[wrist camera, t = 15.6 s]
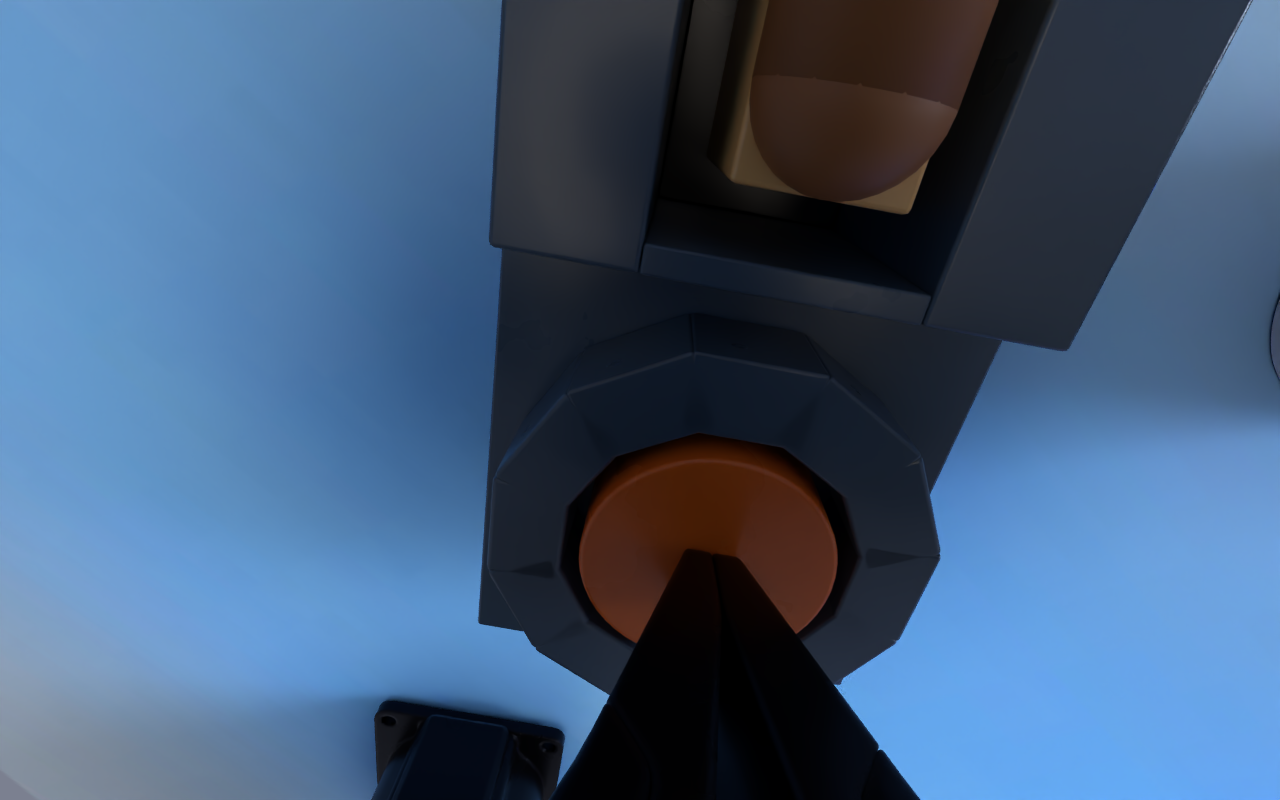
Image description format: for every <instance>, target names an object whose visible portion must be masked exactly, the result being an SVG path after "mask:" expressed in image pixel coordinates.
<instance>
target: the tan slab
mask: <svg viewBox="0 0 1280 800" xmlns="http://www.w3.org/2000/svg"><path fill="white" fill-rule="evenodd" d="M998 2H999V0H738V3H737V7H736V12H735V17H734V22H733V27H732V32H731V37H730V42H729V47H728V52H727V57H726V61H725V66H724V71H723V76H722V81H721V86H720V91H719V96H718V101H717V106H716V111H715V115H714V120H713V125H712V130H711V135H710V140H709V145H708V150H707V158H708V159H709V160H710V161H711V162H712V163H713V164H714V165H715V166H716V167H717V168H718V169H719V170H721V171H722V172H723V173H724V174H725V175H726V176H727V177H728V178H729V179H730V180H731V181H732V182H734V183H736V184H741V185H747V186H752V187H757V188H763V189H768V190H773V191H779V192H784V193H789V194H795V195H800V196H805V197H810V198H816V199H819V200H826V201H832V202H837V203H842V204H848V205H853V206H858V207H864V208H869V209H874V210H880V211H885V212H890V213H896V214H901V215H903V214H908V213H909V211H910V210H911V208H912V205H913V203H914V200H915V197H916V194H917V192H918V189H919V186H920V183H921V180H922V178H923V175H924V172H925V169H926V167H927V164H928V161H929V158H930V157H931V156H932V155H933V154H934V153H935V151H936V150H937V148H938V147H939V146H940V144H941V143H942V141H943V140H944V138H945V137H946V136H947V134H948V132H949V130H950V128H951V125H952V123H953V121H954V119H955V117H956V115H957V113H958V110H959V107H960V105H961V102H962V99H963V97H964V94H965V91H966V88H967V86H968V83H969V80H970V78H971V75H972V72H973V69H974V67H975V64H976V61H977V59H978V56H979V53H980V50H981V48H982V45H983V42H984V40H985V37H986V34H987V32H988V29H989V26H990V23H991V21H992V18H993V15H994V13H995V10H996V7H997V4H998Z"/></svg>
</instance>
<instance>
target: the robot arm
mask: <svg viewBox="0 0 1280 800" xmlns="http://www.w3.org/2000/svg"><path fill="white" fill-rule="evenodd" d="M374 722H375V743H376V763H377V784H378V786H377V788H376V790H375V792H374V794H373V797H372V799H371V800H920V798H919V797H918V796H917V795H916V793H915V792H914V791H913V789H912V788H911V787H910V786H909V784H908V783H907V782H906V780H905V779H904V778H903V777H902V775H901V774H900V773H899V771H898V770H897V769H896V767H895V766H894V764H893V763H892V762H891V760H890V759H889V758H888V756H887V755H886V754H885V752H884V751H883V750H878V748H879V746H878V743H877V742H876V741H875V739H874V738H873V737H872V735H871V734H870V733H869V731H868V730H867V729H866V727H865V726H864V725H863V723H862V722H861V720H860V719H859V718H858V716H857V715H856V714H855V712H854V711H853V710H852V708H851V707H850V706H849V704H848V703H847V702H846V700H845V699H844V698H843V696H842V695H841V694H840V692H839V691H838V690H837V688H836V687H835V686H834V684H833V683H832V681H831V680H830V679H829V677H828V676H827V675H826V673H825V672H824V671H823V669H822V668H821V667H820V665H819V664H818V663H817V661H816V660H815V659H814V657H813V656H812V655H811V653H810V652H809V651H808V649H807V648H806V647H805V645H804V644H803V643H802V641H801V640H800V638H799V637H798V636H797V634H796V633H795V632H794V630H793V629H792V628H791V626H790V625H789V624H788V622H787V621H786V620H785V618H784V617H783V616H782V614H781V613H780V612H779V610H778V609H777V608H776V606H775V605H774V604H773V602H772V601H771V599H770V598H769V597H768V595H767V594H766V593H765V591H764V590H763V589H762V587H761V586H760V585H759V583H758V582H757V581H756V579H755V578H754V577H753V575H752V574H751V573H750V571H749V570H748V569H747V567H746V566H745V565H744V563H743V562H742V561H741V560H740V559H739V558H738V557H735V556H729V555H723V554H714V555H711V554H710V553H709V552H706V551H700V550H695V549H686V550H685V551H684V553H683V555H682V557H681V559H680V560H679V562H678V564H677V566H676V568H675V570H674V572H673V574H672V576H671V578H670V580H669V582H668V584H667V586H666V588H665V590H664V591H663V593H662V595H661V597H660V599H659V601H658V603H657V605H656V607H655V609H654V611H653V613H652V615H651V617H650V619H649V621H648V622H647V624H646V626H645V628H644V630H643V632H642V634H641V636H640V638H639V640H638V642H637V644H636V646H635V648H634V650H633V652H632V653H631V655H630V657H629V659H628V661H627V663H626V665H625V667H624V669H623V671H622V673H621V675H620V677H619V679H618V681H617V683H616V684H615V686H614V688H613V690H612V692H611V694H610V696H609V698H608V700H607V703H606V704H605V705H604V707H603V709H602V711H601V713H600V715H599V717H598V719H597V720H596V722H595V724H594V726H593V728H592V730H591V732H590V733H589V735H588V737H587V739H586V741H585V742H584V744H583V746H582V748H581V749H580V751H579V753H578V755H577V756H576V758H575V760H574V762H573V763H572V765H571V766H570V768H569V769H568V771H567V772H566V774H565V775H564V777H563V778H562V780H561V781H560V783H559V784H558V786H557V781H558V775H559V770H560V764H561V758H562V753H563V747H564V741H565V736H564V734H563V732H562V731H560V730H559V729H556V728H553V727H548V726H542V725H536V724H530V723H524V722H518V721H512V720H506V719H500V718H494V717H488V716H482V715H476V714H470V713H464V712H458V711H452V710H446V709H440V708H434V707H428V706H422V705H416V704H410V703H404V702H398V701H385V702H383V703H382V704H381V705H380V707H379V709H378V711H377V713H376V715H375V718H374Z"/></svg>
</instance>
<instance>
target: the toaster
mask: <svg viewBox="0 0 1280 800" xmlns="http://www.w3.org/2000/svg"><path fill="white" fill-rule="evenodd" d="M1252 1H1253V0H999V2H998V4H997V7H996V10H995V13H994V15H993V18H992V21H991V23H990V26H989V29H988V32H987V34H986V37H985V40H984V42H983V45H982V48H981V50H980V53H979V56H978V59H977V61H976V64H975V67H974V69H973V72H972V75H971V78H970V80H969V83H968V86H967V88H966V91H965V94H964V97H963V99H962V102H961V105H960V107H959V110H958V113H957V115H956V117H955V119H954V121H953V123H952V125H951V128H950V130H949V132H948V134H947V136H946V137H945V138H944V140H943V141H942V143H941V144H940V146H939V147H938V148H937V150H936V151H935V153H934V154H933V155H932V156H931V157H930V158H929V161H928V164H927V167H926V169H925V172H924V175H923V178H922V180H921V183H920V186H919V189H918V192H917V194H916V197H915V200H914V203H913V205H912V208H911V210H910V211H909V213H908V214H903V215H901V214H896V213H890V212H885V211H880V210H874V209H869V208H864V207H858V206H853V205H848V204H842V203H837V202H832V201H826V200H819V199H816V198H810V197H805V196H800V195H795V194H789V193H784V192H779V191H773V190H768V189H763V188H757V187H752V186H747V185H741V184H736V183H734V182H732V181H731V180H730V179H729V178H728V177H727V176H726V175H725V174H724V173H723V172H722V171H721V170H719V169H718V168H717V167H716V166H715V165H714V164H713V163H712V162H711V161H710V160H709V159H708V158H707V150H708V145H709V140H710V135H711V130H712V125H713V120H714V115H715V111H716V106H717V101H718V96H719V91H720V86H721V81H722V76H723V71H724V66H725V61H726V57H727V52H728V47H729V42H730V37H731V32H732V27H733V22H734V17H735V12H736V7H737V3H738V0H502V5H501V24H500V43H499V61H498V80H497V98H496V117H495V136H494V154H493V173H492V191H491V210H490V229H489V242H490V245H492V246H493V247H496V248H502V249H507V250H513V251H518V252H523V253H529V254H534V255H540V256H545V257H551V258H556V259H562V260H567V261H573V262H578V263H583V264H589V265H594V266H600V267H605V268H611V269H616V270H622V271H627V272H638V270H639V268H640V273H641V274H642V275H646V276H652V277H657V278H663V279H668V280H673V281H679V282H684V283H690V284H695V285H701V286H706V287H712V288H717V289H723V290H728V291H733V292H739V293H744V294H750V295H755V296H761V297H766V298H772V299H777V300H783V301H788V302H793V303H799V304H804V305H810V306H815V307H821V308H826V309H832V310H837V311H843V312H848V313H853V314H859V315H864V316H870V317H875V318H881V319H886V320H892V321H897V322H903V323H908V324H913V325H920V324H922V325H924V326H926V327H932V328H937V329H943V330H948V331H953V332H959V333H964V334H970V335H975V336H981V337H986V338H992V339H997V340H1003V341H1008V342H1013V343H1019V344H1024V345H1030V346H1035V347H1041V348H1046V349H1052V350H1057V351H1067V350H1068V349H1069V347H1070V346H1071V344H1072V342H1073V340H1074V338H1075V336H1076V334H1077V332H1078V330H1079V329H1080V327H1081V325H1082V323H1083V321H1084V319H1085V317H1086V315H1087V313H1088V312H1089V310H1090V308H1091V306H1092V304H1093V302H1094V300H1095V298H1096V296H1097V294H1098V293H1099V291H1100V289H1101V287H1102V285H1103V283H1104V281H1105V279H1106V277H1107V276H1108V274H1109V272H1110V270H1111V268H1112V266H1113V264H1114V262H1115V260H1116V259H1117V257H1118V255H1119V253H1120V251H1121V249H1122V247H1123V245H1124V243H1125V241H1126V240H1127V238H1128V236H1129V234H1130V232H1131V230H1132V228H1133V226H1134V224H1135V223H1136V221H1137V219H1138V217H1139V215H1140V213H1141V211H1142V209H1143V207H1144V205H1145V204H1146V202H1147V200H1148V198H1149V196H1150V194H1151V192H1152V190H1153V188H1154V187H1155V185H1156V183H1157V181H1158V179H1159V177H1160V175H1161V173H1162V171H1163V170H1164V168H1165V166H1166V164H1167V162H1168V160H1169V158H1170V156H1171V154H1172V152H1173V151H1174V149H1175V147H1176V145H1177V143H1178V141H1179V139H1180V137H1181V135H1182V134H1183V132H1184V130H1185V128H1186V126H1187V124H1188V122H1189V120H1190V118H1191V117H1192V115H1193V113H1194V111H1195V109H1196V107H1197V105H1198V103H1199V101H1200V99H1201V98H1202V96H1203V94H1204V92H1205V90H1206V88H1207V86H1208V84H1209V82H1210V81H1211V79H1212V77H1213V75H1214V73H1215V71H1216V69H1217V67H1218V65H1219V63H1220V62H1221V60H1222V58H1223V56H1224V54H1225V52H1226V50H1227V48H1228V46H1229V45H1230V43H1231V41H1232V39H1233V37H1234V35H1235V33H1236V31H1237V29H1238V28H1239V26H1240V24H1241V22H1242V20H1243V18H1244V16H1245V14H1246V12H1247V10H1248V9H1249V7H1250V5H1251V3H1252Z"/></svg>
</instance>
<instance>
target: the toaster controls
mask: <svg viewBox="0 0 1280 800" xmlns="http://www.w3.org/2000/svg"><path fill="white" fill-rule="evenodd" d="M1001 342H1002V340H997V339H992V338H986V337H981V336H975V335H970V334H964V333H959V332H953V331H948V330H943V329H937V328H932V327H926V326H924V325H922V324H920V325H913V324H908V323H903V322H897V321H892V320H886V319H881V318H875V317H870V316H864V315H859V314H853V313H848V312H843V311H837V310H832V309H826V308H821V307H815V306H810V305H804V304H799V303H793V302H788V301H783V300H777V299H772V298H766V297H761V296H755V295H750V294H744V293H739V292H733V291H728V290H723V289H717V288H712V287H706V286H701V285H695V284H690V283H684V282H679V281H673V280H668V279H663V278H657V277H652V276H646V275H642V274H641V273H640V268H639V270H638V272H627V271H622V270H616V269H611V268H605V267H600V266H594V265H589V264H583V263H578V262H573V261H567V260H562V259H556V258H551V257H545V256H540V255H534V254H529V253H523V252H518V251H513V250H507V249H502V257H501V273H500V289H499V304H498V320H497V335H496V351H495V367H494V382H493V398H492V414H491V429H490V445H489V460H488V476H487V492H486V507H485V523H484V539H483V554H482V570H481V586H480V601H479V617H478V622H479V623H480V624H483V625H489V626H495V627H501V628H507V629H513V630H519V631H524V632H525V634H526V636H527V637H528V639H529V641H530V642H531V644H532V645H533V646H534V647H536V650H537V651H538V652H540V653H542V654H543V655H545V656H547V657H548V658H550V659H551V660H553V661H555V662H556V663H558V664H560V665H561V666H563V667H565V668H566V669H568V670H569V671H571V672H573V673H574V674H576V675H578V676H579V677H581V678H583V679H584V680H586V681H587V682H589V683H591V684H592V685H594V686H596V687H597V688H599V689H601V690H602V691H604V692H606V693H607V694H609V695H610V694H611V692H612V690H613V688H614V686H615V684H616V683H617V681H618V679H619V677H620V675H621V673H622V671H623V669H624V667H625V665H626V663H627V661H628V659H629V657H630V655H631V653H632V652H633V650H634V648H635V646H636V643H635V642H633V641H631V640H629V639H628V638H626V637H625V636H623V635H622V634H620V633H619V632H618V631H616V630H615V629H614V628H613V627H612V626H611V625H610V624H608V623H607V622H606V621H605V620H604V618H603V617H602V616H601V615H600V614H599V612H598V611H597V610H596V609H595V607H594V605H593V604H592V602H591V601H590V599H589V597H588V594H587V592H586V590H585V588H584V585H583V582H582V578H581V574H580V568H579V546H580V541H581V537H582V533H583V528H584V524H585V520H586V516H587V511H588V507H589V503H590V498H591V494H592V490H593V486H594V482H595V479H596V478H597V477H598V476H599V474H600V473H601V472H602V471H603V470H604V469H605V468H606V467H607V466H608V465H609V464H610V463H611V462H612V461H613V460H614V459H615V458H616V457H617V456H621V455H624V454H627V453H631V452H634V451H638V450H641V449H644V448H648V447H651V446H655V445H658V444H662V443H665V442H668V441H672V440H675V439H679V438H682V437H685V436H689V435H692V434H696V433H703V434H708V435H714V436H720V437H725V438H731V439H736V440H742V441H748V442H753V443H759V444H764V445H770V446H776V447H781V448H784V449H785V450H786V451H788V452H789V453H790V454H791V455H792V456H794V457H795V458H796V459H797V460H799V461H800V462H801V463H802V464H804V465H805V466H806V467H807V468H809V470H810V473H811V475H812V478H813V480H814V483H815V486H816V488H817V491H818V493H819V496H820V498H821V501H822V504H823V506H824V509H825V511H826V514H827V517H828V519H829V522H830V524H831V527H832V530H833V532H834V535H835V539H836V544H837V550H838V565H837V571H836V577H835V581H834V584H833V587H832V590H831V593H830V595H829V596H828V598H827V600H826V602H825V604H824V606H823V607H822V608H821V610H820V611H819V613H818V614H817V615H816V616H815V617H814V618H813V620H812V621H811V622H810V623H809V624H808V625H807V626H806V627H804V628H803V629H802V630H801V631H799V632H798V633H797V636H798V637H799V638H800V640H801V641H802V643H803V644H804V645H805V647H806V648H807V649H808V651H809V652H810V653H811V655H812V656H813V657H814V659H815V660H816V661H817V663H818V664H819V665H820V667H821V668H822V669H823V671H824V672H825V673H826V675H827V676H828V677H829V679H830V680H831V681H832V683H833V684H836V685H840V684H841V682H842V680H843V678H844V677H846V676H847V675H849V674H850V673H852V672H853V671H855V670H856V669H858V668H859V667H861V666H862V665H864V664H865V663H867V662H868V661H870V660H871V659H873V658H875V657H876V656H878V655H879V654H881V653H882V652H884V651H885V650H887V649H888V648H890V647H891V646H893V645H894V644H895V643H896V641H897V640H899V639H900V637H901V635H902V633H903V631H904V629H905V627H906V625H907V623H908V621H909V619H910V617H911V615H912V613H913V611H914V609H915V607H916V606H917V604H918V602H919V600H920V598H921V596H922V594H923V592H924V590H925V588H926V586H927V584H928V582H929V580H930V578H931V576H932V574H933V572H934V570H935V568H936V566H937V564H938V562H939V561H940V545H939V540H938V535H937V530H936V524H935V519H934V514H933V509H932V504H931V499H930V493H931V491H932V489H933V487H934V485H935V482H936V480H937V478H938V476H939V474H940V472H941V470H942V468H943V465H944V463H945V461H946V459H947V457H948V455H949V453H950V451H951V448H952V446H953V444H954V442H955V440H956V438H957V436H958V434H959V431H960V429H961V427H962V425H963V423H964V421H965V419H966V417H967V415H968V412H969V410H970V408H971V406H972V404H973V402H974V400H975V398H976V395H977V393H978V391H979V389H980V387H981V385H982V383H983V381H984V378H985V376H986V374H987V372H988V370H989V368H990V366H991V364H992V361H993V359H994V357H995V355H996V353H997V351H998V349H999V347H1000V344H1001Z"/></svg>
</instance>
